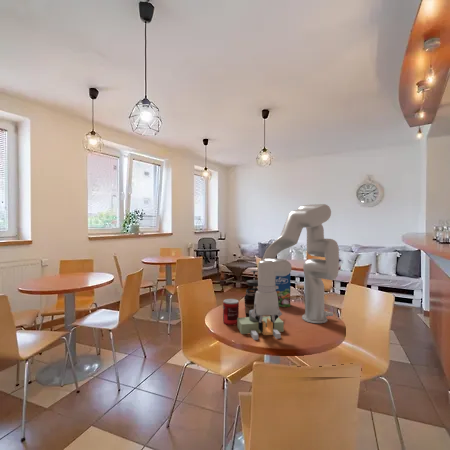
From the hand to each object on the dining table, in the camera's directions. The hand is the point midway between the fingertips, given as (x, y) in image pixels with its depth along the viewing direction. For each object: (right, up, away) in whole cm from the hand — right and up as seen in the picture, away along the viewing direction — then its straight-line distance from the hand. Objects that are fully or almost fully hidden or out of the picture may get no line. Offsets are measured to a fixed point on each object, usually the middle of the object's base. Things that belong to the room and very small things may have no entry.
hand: (266, 330), depth 123 cm
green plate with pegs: (-1, -3, +7) cm, 7 cm away
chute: (0, -1, 0) cm, 1 cm away
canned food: (-15, -3, +19) cm, 24 cm away
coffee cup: (-4, -3, +25) cm, 25 cm away
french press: (-1, -3, +38) cm, 38 cm away
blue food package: (+16, -3, +49) cm, 52 cm away
